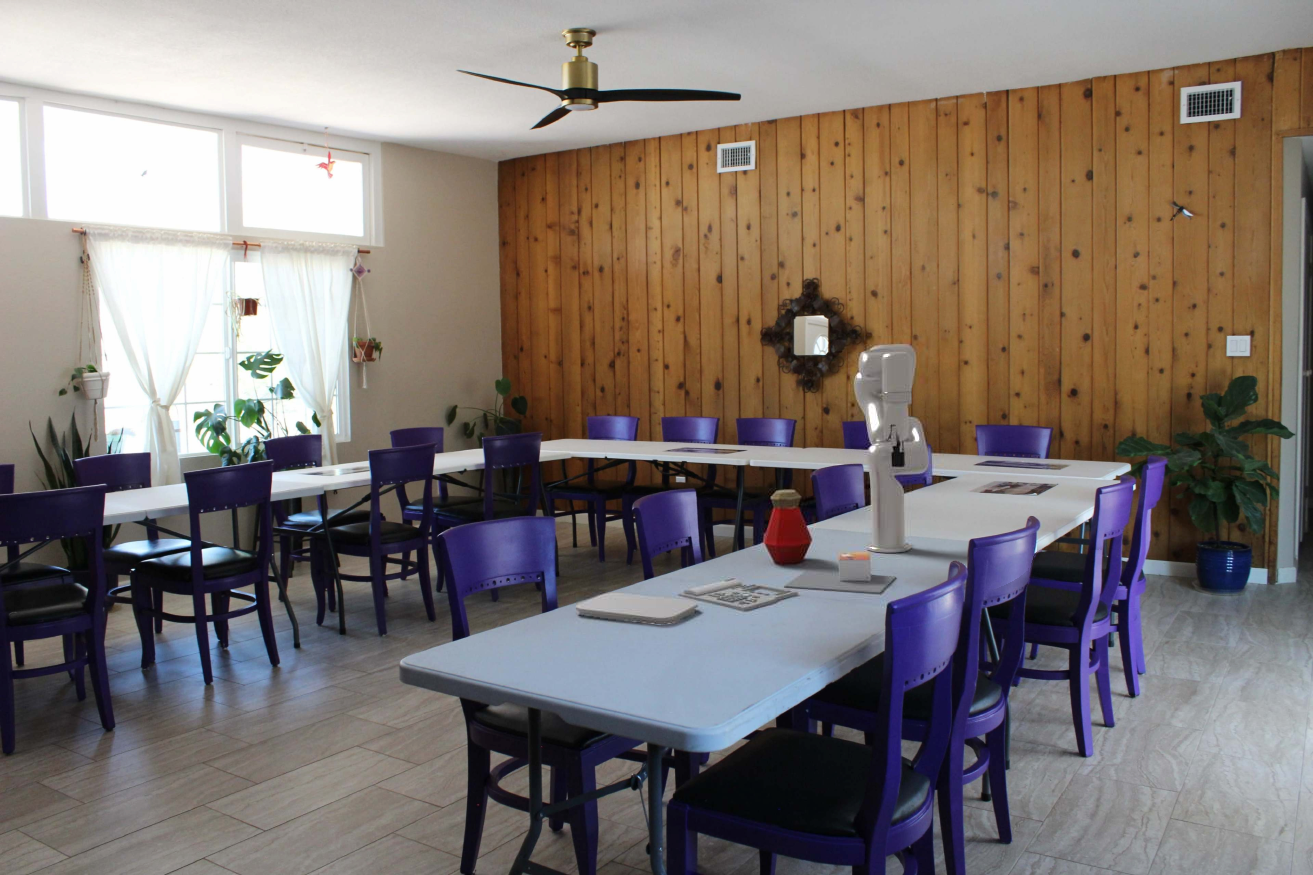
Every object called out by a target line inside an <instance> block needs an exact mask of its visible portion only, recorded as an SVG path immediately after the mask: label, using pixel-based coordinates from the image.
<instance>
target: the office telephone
mask: <svg viewBox="0 0 1313 875" xmlns="http://www.w3.org/2000/svg"><path fill="white" fill-rule="evenodd" d="M758 589H760V590H761V589H762V590H767V591H771V592H776V593H775V594H770V593H766V592H765V593H763V592H761V591H760V592H759V591H755V590H758ZM798 594H799V593H798V590H793V589H790V588H785V587H784V588H783V587H778V586H773V585H766V584H761V583H753V584H748V585H747V584H746V583H743V582H741V581H740V580H738V579H736V578H730V579H725V580H722V581H719V582H718V581H717V582H713V583H710V584H705V585H701V586H698V587H693V588H688V589H686V590H684V591H683V592H678V593H677V595H678V596H680V597H683V598H688V599H690V600H694V601H695V600H696V601H700V602H705V603H708V604H714V605H717V606H721V607H726V608H730V609H734V610H738V611H741V612H747V611H751V610H753V609H757V608H758V609H759V608H761V607H765V606H768V605H771V604H774V603H776V601H777V602H778V601H781V600H784V599H787V598H791V597H794V596H798Z"/></svg>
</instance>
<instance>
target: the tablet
mask: <svg viewBox="0 0 1313 875" xmlns="http://www.w3.org/2000/svg"><path fill="white" fill-rule="evenodd" d="M698 607H699V602H698V601H697V600H696V601H695V600H692V599H680V598H670V597H662V596H651V595H641V594H633V593H631V594H630V593H622V592H609V593H604V594H600V595H598V596H596V597H593V598H591V599H588V600H585V601H583V602H581V603H579V604H578V603H577V605H575V609H576V610H577V611H578V614H581V615H588V616H594V617H593V618H595V617H600V618H599V619H604V618H608V619H607V620H612V619H616V620H615V621H621V620H627V621H626V622H629V621H636V622H635V623H637V622H644V623H643V624H646V623H654V624H668V623H672V624H674V623H676V622H678V621H680V620H682V619H684V618H686V617H688V616H690V615H692V614H694V613H695V612H696V609H697V608H698ZM581 615H580V616H581ZM685 616H686V617H685ZM683 617H684V618H683ZM681 618H682V619H681ZM617 619H618V620H617ZM679 619H680V620H679ZM677 620H678V621H677ZM675 621H676V622H675ZM645 622H646V623H645ZM673 622H674V623H673ZM654 624H653V625H654Z"/></svg>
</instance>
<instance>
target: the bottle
mask: <svg viewBox="0 0 1313 875" xmlns="http://www.w3.org/2000/svg"><path fill="white" fill-rule="evenodd" d="M801 499H802V496H801V495H800V494H799V493H798V492H797V491H796V490H795V489H781V490H780V489H779V490H776V491H775V492H774V493H773V494H772V495H771V496H770V500H771V503H772V505H773V508H772V513H771V514H770V519H769V522H768V525H767V529H766V531H765V535H764V539H763V541H762V542H763V544H764V546H765V548H766V549H767V552H768V554H769V556H770V558H771V559H772V561H773V563H774V564H776V565H777V564H778V565H787V566H788V565H795V564H800V563H802V562H803V561H804V560H805V558H806V555H807V553H808V550H809V548H810V546H811V544H812V542H813V537H812V536H811V533H810V530H809V528H808V526H807V524H806V521H805V519H804V517H803V514H802V511H801V509H800V507H799V505H800V502H801Z"/></svg>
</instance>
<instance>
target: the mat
mask: <svg viewBox="0 0 1313 875" xmlns="http://www.w3.org/2000/svg"><path fill="white" fill-rule="evenodd" d="M896 578H897V576H894V575H880V574H879V575H877V574H871V581H839V572H827V571H811V570H810V571H808V570H805V571H803V572H802V573H800V574H799V575H797V576H796V577H794V579H792V580H791V581H789V582H788V583H786V584H785V585H784V586H783V587H784V589H802V590H804V589H805V590H814V591H815V590H818V591H831V592H832V591H833V592H845V593H846V592H847V593H861V594H873V595H875V594H876V595H877V594H878V595H880V594H882V592H884V590H885V589H886V588H888V586H890V585H891V583H892V582H894V581H895V580H896Z"/></svg>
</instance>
